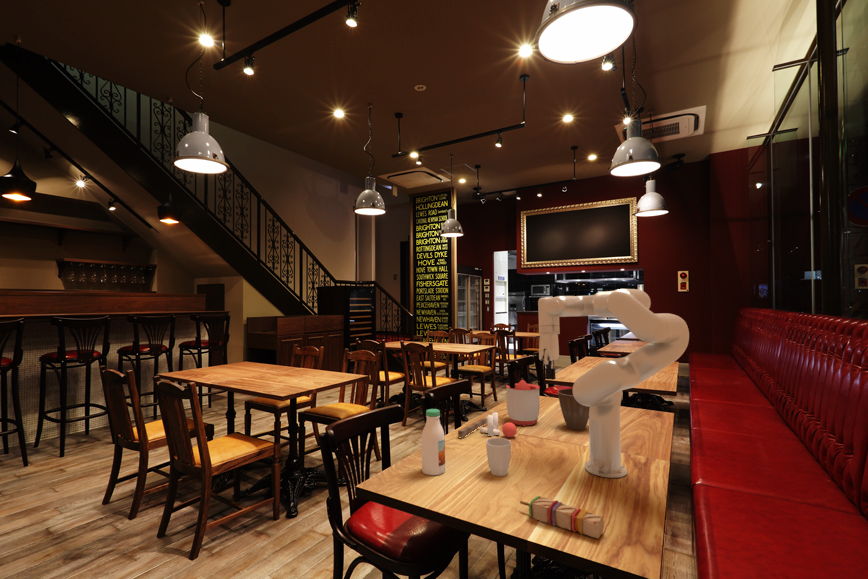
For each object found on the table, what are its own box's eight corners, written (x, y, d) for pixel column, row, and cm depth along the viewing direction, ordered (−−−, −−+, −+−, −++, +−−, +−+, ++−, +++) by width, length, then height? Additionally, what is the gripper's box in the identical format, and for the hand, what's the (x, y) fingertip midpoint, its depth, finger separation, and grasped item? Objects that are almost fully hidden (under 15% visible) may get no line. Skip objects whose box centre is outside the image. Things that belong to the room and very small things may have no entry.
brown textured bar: (462, 439, 168) (462, 431, 168) (458, 438, 169) (458, 430, 169) (487, 424, 188) (487, 418, 188) (483, 424, 189) (483, 417, 189)
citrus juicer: (518, 415, 203) (517, 375, 204) (547, 423, 189) (546, 379, 190) (496, 421, 193) (496, 378, 194) (525, 429, 180) (524, 384, 181)
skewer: (605, 532, 98) (605, 511, 98) (597, 544, 93) (596, 522, 93) (526, 506, 111) (526, 487, 111) (515, 516, 106) (514, 496, 106)
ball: (498, 424, 169) (501, 439, 168) (511, 423, 166) (514, 438, 165) (504, 421, 174) (507, 436, 173) (517, 420, 171) (520, 435, 170)
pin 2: (496, 434, 174) (496, 413, 174) (491, 433, 175) (491, 413, 175) (499, 432, 176) (498, 412, 176) (494, 431, 177) (493, 412, 177)
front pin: (498, 430, 171) (479, 427, 175) (498, 436, 171) (479, 433, 175) (500, 429, 173) (482, 426, 177) (500, 435, 173) (482, 432, 177)
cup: (515, 471, 134) (514, 440, 135) (506, 480, 127) (505, 447, 128) (492, 466, 138) (491, 436, 139) (482, 475, 131) (482, 443, 132)
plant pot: (591, 435, 171) (589, 396, 171) (555, 430, 178) (554, 393, 179) (596, 426, 183) (595, 390, 184) (562, 422, 191) (561, 387, 192)
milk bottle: (431, 478, 129) (431, 414, 130) (417, 470, 135) (416, 409, 136) (450, 471, 134) (449, 410, 135) (435, 465, 140) (434, 406, 141)
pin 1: (491, 437, 169) (491, 416, 170) (486, 436, 171) (486, 415, 171) (494, 435, 171) (493, 415, 172) (489, 434, 173) (488, 414, 173)
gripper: (545, 328, 162) (546, 375, 161) (532, 330, 149) (534, 381, 148) (564, 329, 158) (566, 377, 157) (553, 331, 145) (554, 383, 144)
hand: (550, 378), depth 153 cm, fingers closed
